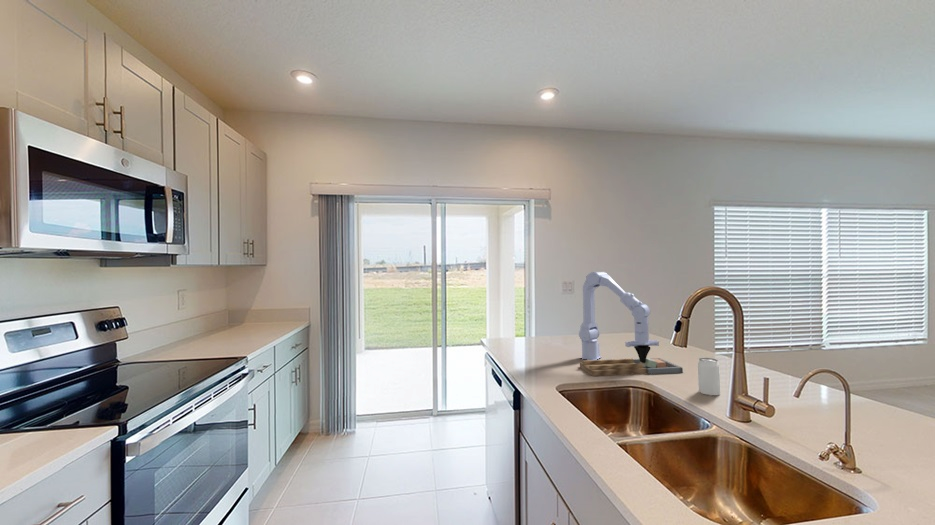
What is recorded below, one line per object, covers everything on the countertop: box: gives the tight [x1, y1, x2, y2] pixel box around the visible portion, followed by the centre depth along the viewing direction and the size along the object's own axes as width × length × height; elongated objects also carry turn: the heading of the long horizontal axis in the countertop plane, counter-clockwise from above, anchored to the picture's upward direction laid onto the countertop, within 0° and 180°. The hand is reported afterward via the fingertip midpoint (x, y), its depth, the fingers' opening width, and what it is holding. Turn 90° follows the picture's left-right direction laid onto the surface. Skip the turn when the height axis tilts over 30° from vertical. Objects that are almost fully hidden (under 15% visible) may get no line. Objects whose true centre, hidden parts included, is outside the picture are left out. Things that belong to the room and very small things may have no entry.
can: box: [697, 357, 721, 396], centre depth 131 cm, size 6×6×12 cm
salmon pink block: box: [651, 359, 666, 368], centre depth 163 cm, size 4×6×3 cm, turn 4°
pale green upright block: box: [640, 357, 657, 368], centre depth 163 cm, size 4×6×3 cm, turn 4°
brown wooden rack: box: [579, 358, 648, 377], centre depth 162 cm, size 24×14×4 cm, turn 94°
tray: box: [633, 357, 684, 375], centre depth 163 cm, size 15×16×2 cm
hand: (642, 362), depth 163 cm, fingers closed
